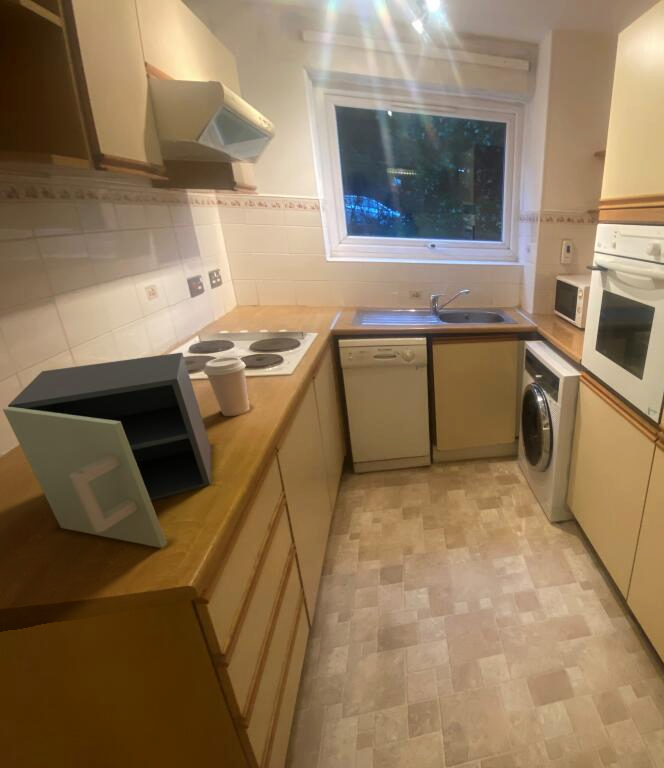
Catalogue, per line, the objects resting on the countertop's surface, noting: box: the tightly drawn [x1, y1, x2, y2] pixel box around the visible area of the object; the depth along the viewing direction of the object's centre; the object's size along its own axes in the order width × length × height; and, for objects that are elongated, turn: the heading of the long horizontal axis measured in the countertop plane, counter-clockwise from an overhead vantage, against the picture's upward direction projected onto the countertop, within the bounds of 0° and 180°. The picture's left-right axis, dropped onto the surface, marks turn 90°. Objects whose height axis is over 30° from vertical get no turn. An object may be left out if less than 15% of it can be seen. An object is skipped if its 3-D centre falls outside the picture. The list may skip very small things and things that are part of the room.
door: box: [2, 406, 168, 549], centre depth 68 cm, size 7×22×24 cm, turn 78°
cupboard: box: [7, 352, 211, 501], centre depth 86 cm, size 18×22×24 cm
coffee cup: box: [203, 356, 251, 417], centre depth 118 cm, size 10×10×15 cm
